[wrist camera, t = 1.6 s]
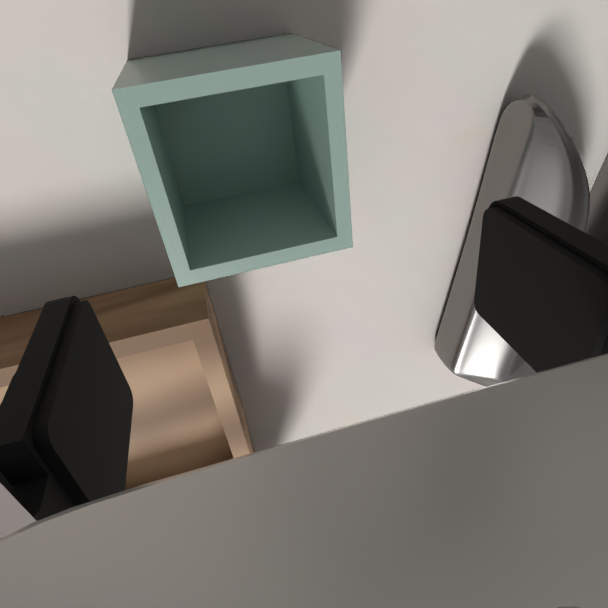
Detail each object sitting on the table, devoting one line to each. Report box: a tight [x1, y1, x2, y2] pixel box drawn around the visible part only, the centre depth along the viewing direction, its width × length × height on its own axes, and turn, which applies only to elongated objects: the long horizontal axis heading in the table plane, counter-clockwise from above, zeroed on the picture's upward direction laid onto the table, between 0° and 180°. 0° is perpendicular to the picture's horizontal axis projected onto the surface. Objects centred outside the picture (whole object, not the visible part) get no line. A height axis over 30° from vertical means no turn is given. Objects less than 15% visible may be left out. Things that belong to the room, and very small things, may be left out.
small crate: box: [112, 33, 353, 287], centre depth 19 cm, size 7×7×7 cm
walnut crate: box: [0, 278, 255, 490], centre depth 27 cm, size 16×16×4 cm
